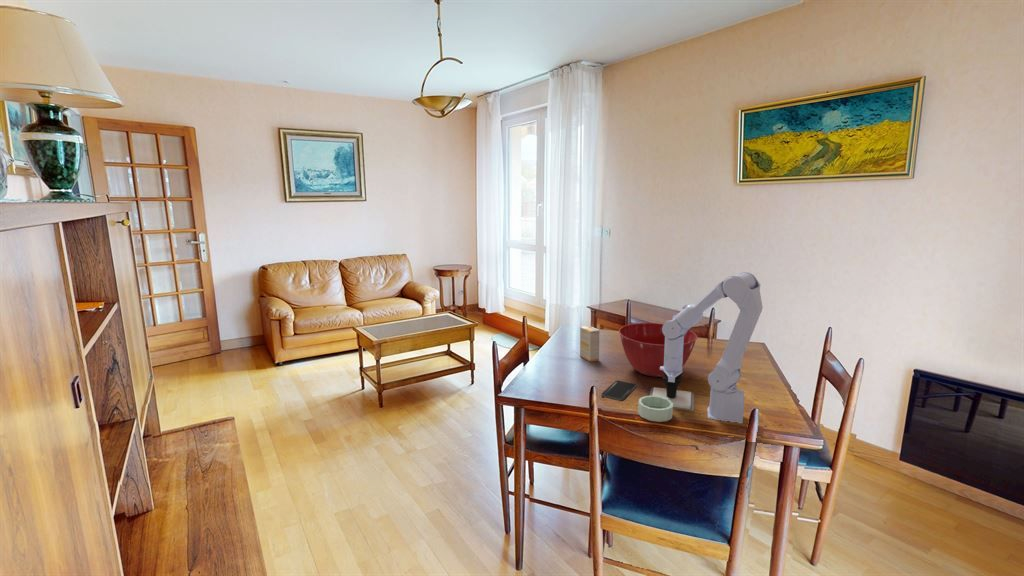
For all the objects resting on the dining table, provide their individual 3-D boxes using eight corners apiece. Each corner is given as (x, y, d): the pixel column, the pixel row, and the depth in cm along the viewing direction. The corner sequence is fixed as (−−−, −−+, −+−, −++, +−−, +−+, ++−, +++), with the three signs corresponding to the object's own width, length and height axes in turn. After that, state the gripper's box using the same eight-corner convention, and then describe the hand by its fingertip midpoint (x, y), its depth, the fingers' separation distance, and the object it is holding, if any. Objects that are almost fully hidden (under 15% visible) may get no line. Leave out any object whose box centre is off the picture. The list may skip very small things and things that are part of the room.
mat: (694, 394, 158) (694, 393, 158) (693, 411, 145) (693, 410, 145) (651, 388, 163) (651, 387, 163) (647, 405, 150) (647, 404, 150)
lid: (690, 394, 158) (691, 383, 157) (690, 409, 147) (690, 397, 146) (653, 389, 162) (654, 379, 161) (650, 403, 151) (651, 392, 150)
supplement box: (599, 360, 192) (600, 329, 189) (589, 362, 190) (590, 331, 188) (589, 354, 200) (589, 324, 197) (579, 356, 198) (579, 326, 195)
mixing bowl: (702, 366, 184) (704, 328, 181) (684, 391, 160) (686, 348, 157) (632, 354, 199) (633, 319, 196) (606, 375, 176) (607, 336, 173)
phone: (600, 394, 157) (616, 380, 169) (600, 398, 157) (616, 382, 170) (622, 400, 153) (637, 384, 165) (622, 403, 153) (637, 387, 165)
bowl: (673, 410, 147) (673, 398, 146) (671, 424, 137) (672, 411, 137) (640, 405, 150) (640, 393, 149) (636, 419, 141) (636, 406, 140)
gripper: (662, 347, 159) (660, 385, 162) (658, 361, 146) (656, 402, 149) (684, 349, 157) (682, 387, 159) (682, 364, 144) (680, 405, 146)
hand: (671, 395), depth 154 cm, fingers closed on lid, 3 cm apart
